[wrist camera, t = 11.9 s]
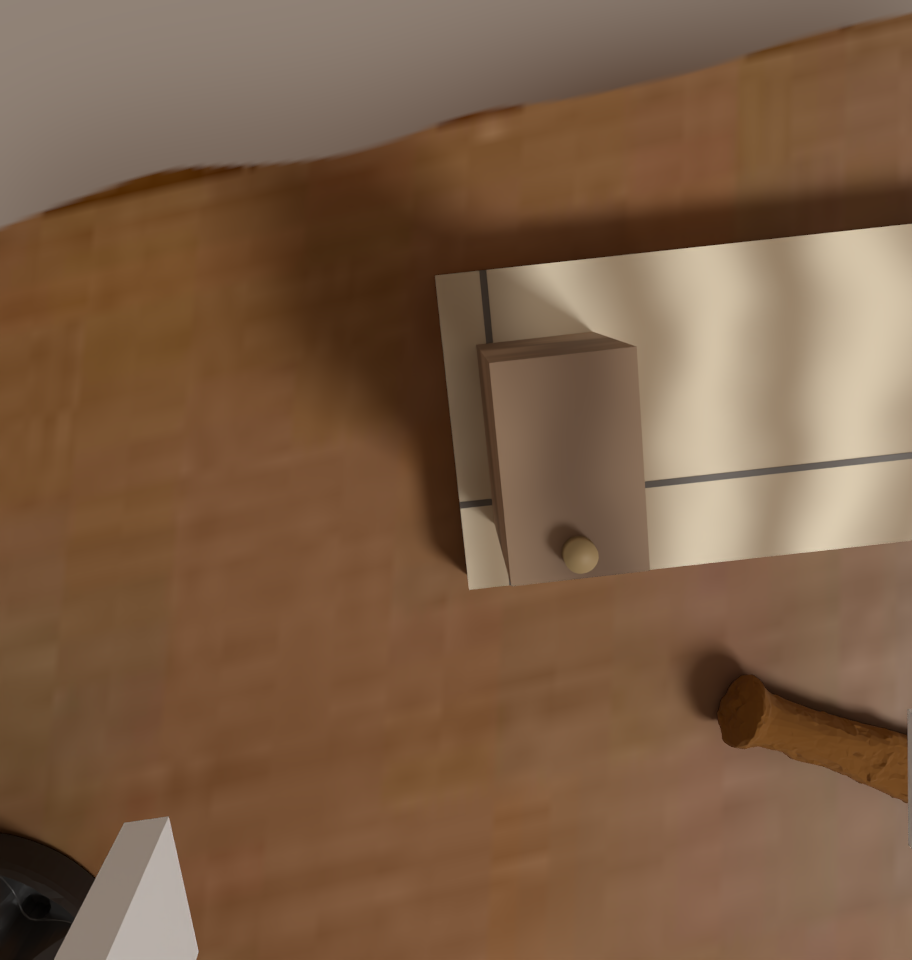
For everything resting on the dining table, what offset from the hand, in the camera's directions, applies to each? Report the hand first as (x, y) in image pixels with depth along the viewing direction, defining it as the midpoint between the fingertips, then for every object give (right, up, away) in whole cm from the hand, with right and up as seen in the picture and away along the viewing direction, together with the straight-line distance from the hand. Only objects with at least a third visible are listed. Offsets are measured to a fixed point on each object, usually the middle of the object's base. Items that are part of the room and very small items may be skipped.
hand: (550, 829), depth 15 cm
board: (+12, +10, +25) cm, 29 cm away
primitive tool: (+21, -8, +30) cm, 37 cm away
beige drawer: (+2, +8, +23) cm, 24 cm away
